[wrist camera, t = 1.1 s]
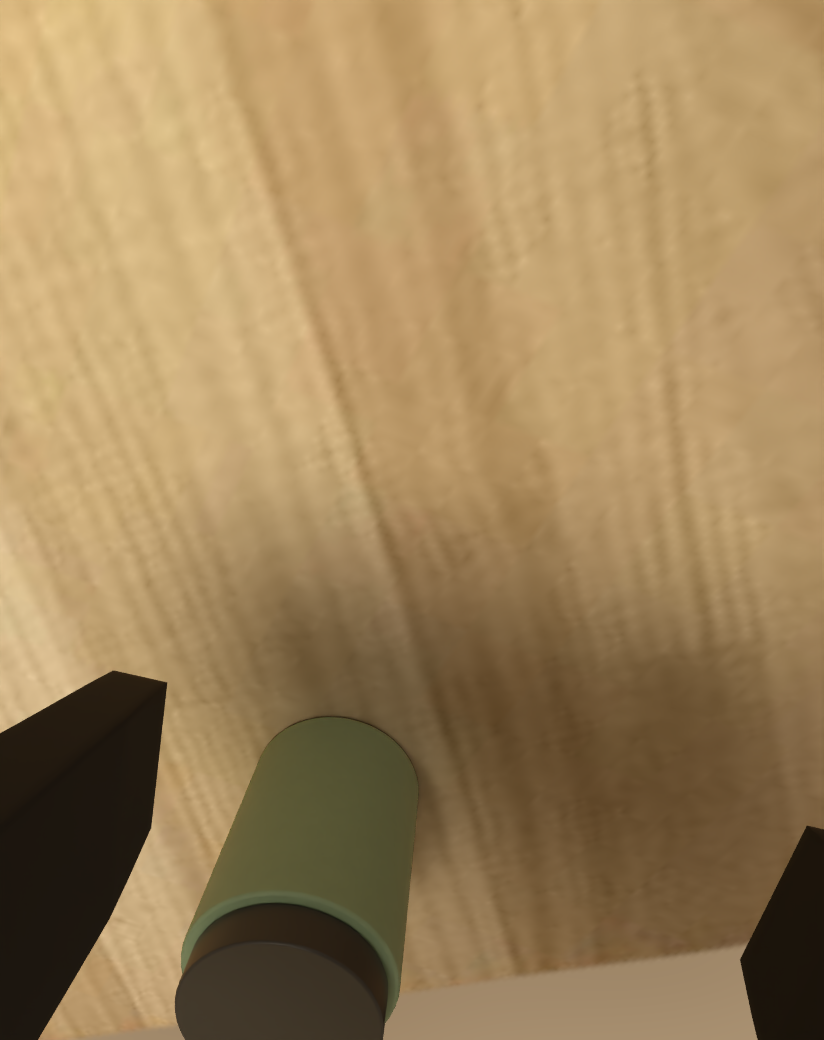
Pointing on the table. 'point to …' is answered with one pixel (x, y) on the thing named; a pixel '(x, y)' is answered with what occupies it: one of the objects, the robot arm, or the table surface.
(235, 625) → the table surface
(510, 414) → the table surface
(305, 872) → the green lidded canister
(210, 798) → the table surface
